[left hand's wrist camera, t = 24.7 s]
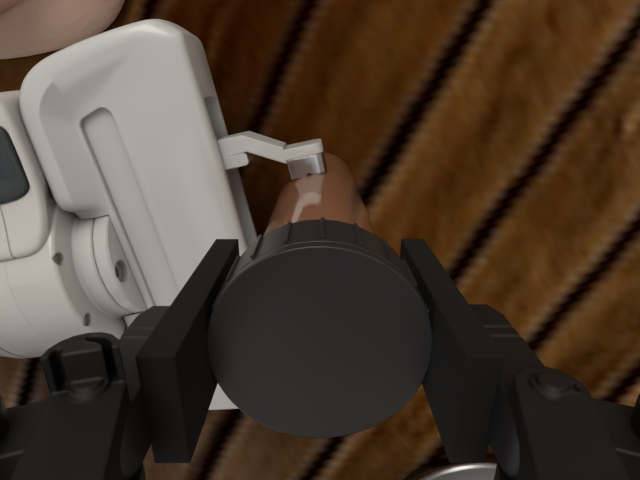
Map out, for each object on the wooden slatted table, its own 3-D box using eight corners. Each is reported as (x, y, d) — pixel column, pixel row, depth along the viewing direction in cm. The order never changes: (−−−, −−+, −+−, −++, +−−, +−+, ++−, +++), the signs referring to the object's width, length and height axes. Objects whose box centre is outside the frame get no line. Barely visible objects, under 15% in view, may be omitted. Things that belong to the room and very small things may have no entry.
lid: (390, 399, 13) (402, 453, 11) (214, 373, 13) (195, 423, 11) (440, 236, 11) (465, 267, 9) (234, 199, 11) (215, 224, 9)
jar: (369, 184, 27) (443, 326, 11) (322, 234, 28) (326, 428, 12) (316, 136, 26) (311, 215, 10) (270, 190, 27) (197, 339, 11)
